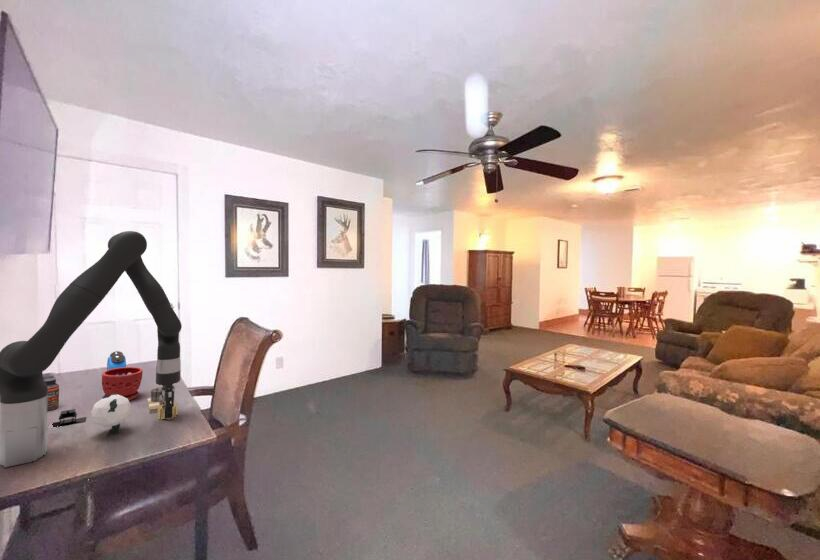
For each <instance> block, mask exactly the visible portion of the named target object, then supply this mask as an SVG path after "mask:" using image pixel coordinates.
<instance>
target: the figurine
mask: <svg viewBox="0 0 820 560" xmlns="http://www.w3.org/2000/svg"><path fill="white" fill-rule="evenodd" d="M103 396H104V395H103ZM103 396H102V398H101V399H99V400H98V401H97V402H95V403H94V405H93V408H91V409H92V410H91V412H90V416H91V419H92V422H93V424H95V425H98V426H100V427H102V428H109V427H111V428H110V429H108V431H107V437H109V436H112V435H116V433H117V434H119V429H120V426H121V423H122V422H124V421H125V420H126V419H127V418H129V414H130V412H131V410H132V405H131V403H130V400H128V399H127V398H125V397H123V396H120V395H118V394H117V393H115V394H113V395H109V394H107V396H104V397H103ZM111 431H112V432H111Z"/></svg>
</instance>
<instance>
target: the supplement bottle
mask: <svg viewBox="0 0 820 560" xmlns="http://www.w3.org/2000/svg"><path fill="white" fill-rule="evenodd" d="M44 381H45V383H46V384H47V386H48V403H47V412H48V411H53V410H56V409H58V408H59V402H60V385H59V384H58V382H57V379H56V378H54V377H51V378H50V377H48V378H44Z"/></svg>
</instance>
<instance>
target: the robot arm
mask: <svg viewBox="0 0 820 560" xmlns="http://www.w3.org/2000/svg"><path fill="white" fill-rule="evenodd" d="M147 247H148V242H147V239H146V238H145V236H144V234H142V233H140V232H138V231H133V230H127V231H125V230H124V231H121V232H119V233H117V234H114V235H113V236H111V237H110V238H109V239H108V242H107V250H106V251H105V253H104V254H103V255H102V256H101V258H100V259H98V260H97V261H96V262H95V263H93V264H92V265H90V266H89V268H87V269H86V270H84V271H83V272H82V273H80V274H79V275H78V276H77V277H76V278H75V279H73V280H72V282H70V283H69V285H68V286H66V287H65V289H64V290H63V291H62V292H61V293H60V294H59V295H58V296H57V298H56V299H55V300H54V301H55V302H54V304H53V305H52V308H51V309H50V312H49V314H48V316H47V318H46V320H45V321H44V323H43V324H42V326H41V327H40V328H39V329H38V330H37V331H36V332H35V333H34V334H33V335H32V336H31V337H30V338H29V339H28V340H18V341H14V342H11V343H9V344H7V345H6V346H4V347H3V348H2V349H1V350H0V466H3V468H4V467H5V468H9V467H13V466H17V465H18V466H19V465H23V464H27V463H28V464H29V463H32V461H33V462H36V461H38V459H40V458H42V457H43V455H44V456H45V455H47V453H46V452H48V411H47V403H48V386H47V384H46V383H45V381H44V379H45V378H44V375H43V372H45V371H46V370H47V369H48V368H49V367H50V366H51V365H52V363H53V362H54V361H55V359H56V358H57V357H58V355H59V353H60V352H61V350H62V349H64V346H65V345H66V343H67V341H68V340H69V339H70V338H71V337H72V335H73V334H74V333H75V332H76V331H77V329H79V327H81V325H82V324H83V323H84V322H85V320H86V319H87V318H88V317H89V316H90V315H91V314H92V313H93V312H94V311H95V309H96V308H97V307H98V306H99V305H100V304H101V302H103V300H104V299H105V298H106V296H107V295H108V294H109V293H110V291H111V290H112V288H113V287H114V286H115V284H116V283H117V282H118V281H119V279H120V278H121V276H122V275H123V274H124V272H125V274H126V275H127V276H128V277H129V279H130V281H131V282H132V284H133V286H134V287H135V289H136V290H137V293H138V295H139V296H140V297H141V298H140V299H141V301H142V302H143V303H144V306H145V307H146V309H147V311H148V312H149V314H151V316H152V318H153V320H154V322H155V324H156V327H157V331H156V332H157V350H156V353H157V354H156V364H155V365H156V367H155V384H156V385H158V386H160V387H161V392H162V399H163V400H162V401H163V404H165V406H164V407H165V418H170V417H172V407H174V403H175V402H174V401H175V392H176V387H175V385H174V384H177V383H179V382H181V370H182V369H181V367H182V366H181V344H180V332H181V330H182V326H183V325H182V321H181V320H180V318H179V317H178V315H177V313H176V312H175V310H174V309H173V308H172V307H173V306H172V304H171V302H170V300H169V298H168V296H167V294H166V292H165V290H164V289H163V286H162V285H161V284H160V283H159V281H157V279H156V278H155V277H154V276H153V274H152V273H151V272H150V271H149V270H148V268H147V266H146V264H145V263H144V261H143V258H142V255H143V254H145V252H146V250H147ZM170 401H171V404H167V403H170Z"/></svg>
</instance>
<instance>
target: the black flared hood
mask: <svg viewBox="0 0 820 560" xmlns="http://www.w3.org/2000/svg"><path fill="white" fill-rule="evenodd" d="M77 416H78V412H77V411H76V408H74V409H67V410H61V411H60V414H59V416H58V420H59V421H56V422H52V423H53V424H52V425H53V427H56V428H61V427H60V426H62V427H68V426H71V425H72V426H73V425H77V424H83V423H86V422H87V418H88V416H84V417H83V416H82V417H79V418H78V417H77ZM69 418H70V419H69ZM57 426H58V427H57Z"/></svg>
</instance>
